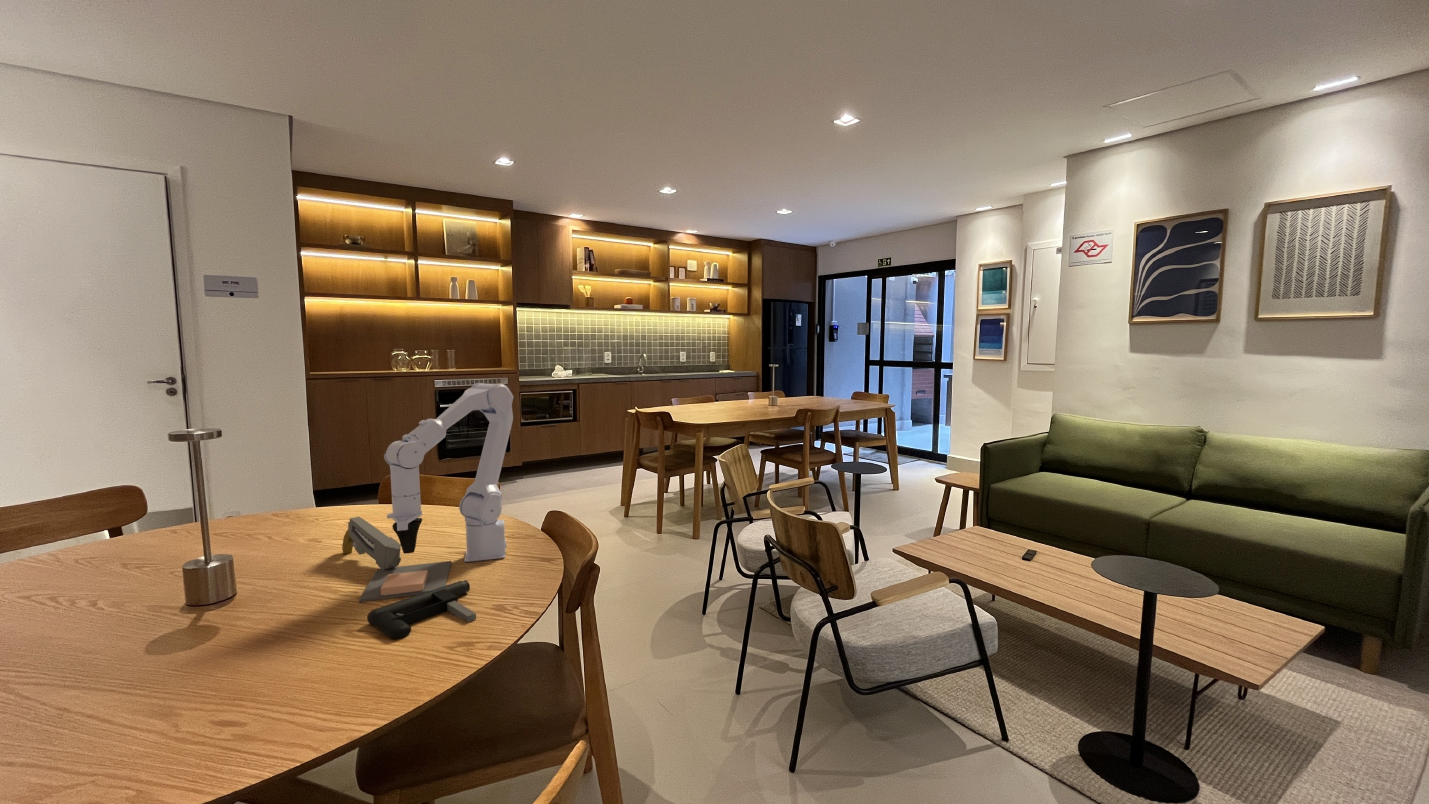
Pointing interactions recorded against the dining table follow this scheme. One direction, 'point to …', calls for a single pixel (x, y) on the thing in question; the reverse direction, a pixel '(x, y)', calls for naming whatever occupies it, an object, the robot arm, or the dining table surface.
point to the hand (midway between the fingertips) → (409, 552)
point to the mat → (435, 572)
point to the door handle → (421, 609)
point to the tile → (404, 582)
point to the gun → (371, 543)
